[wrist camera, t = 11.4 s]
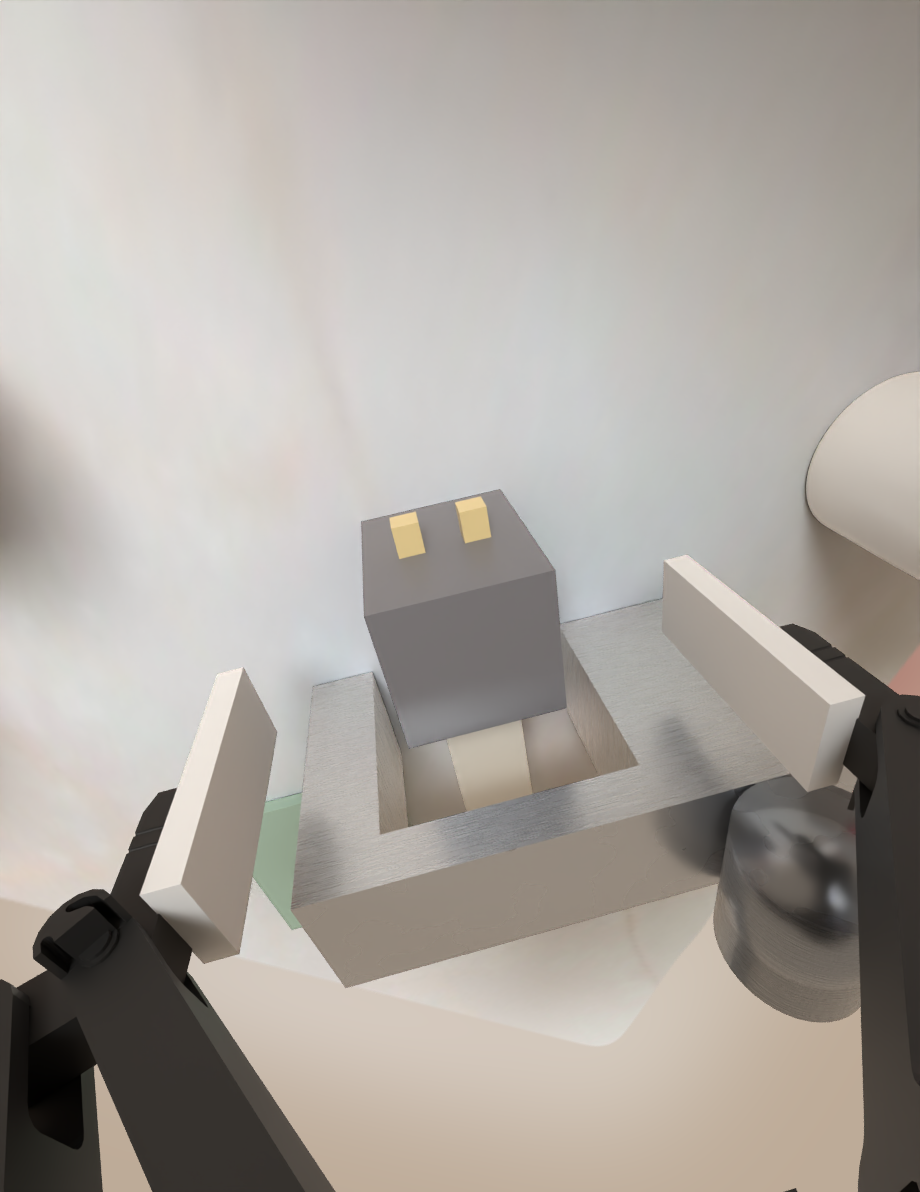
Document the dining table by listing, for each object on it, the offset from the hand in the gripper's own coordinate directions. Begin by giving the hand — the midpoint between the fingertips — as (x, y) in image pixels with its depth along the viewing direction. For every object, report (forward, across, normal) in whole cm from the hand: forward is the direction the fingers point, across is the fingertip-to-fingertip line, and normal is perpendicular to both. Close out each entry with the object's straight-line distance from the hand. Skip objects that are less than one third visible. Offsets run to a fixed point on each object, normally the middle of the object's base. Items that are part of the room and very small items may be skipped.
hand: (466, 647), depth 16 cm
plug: (+4, 0, -3) cm, 6 cm away
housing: (+4, +2, -6) cm, 8 cm away
